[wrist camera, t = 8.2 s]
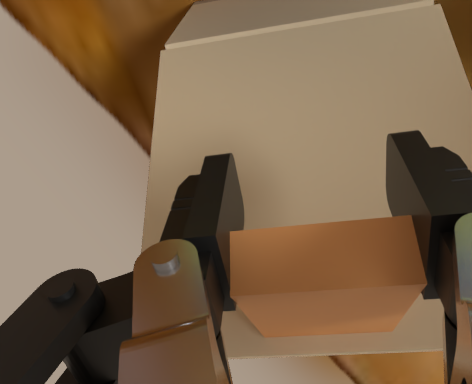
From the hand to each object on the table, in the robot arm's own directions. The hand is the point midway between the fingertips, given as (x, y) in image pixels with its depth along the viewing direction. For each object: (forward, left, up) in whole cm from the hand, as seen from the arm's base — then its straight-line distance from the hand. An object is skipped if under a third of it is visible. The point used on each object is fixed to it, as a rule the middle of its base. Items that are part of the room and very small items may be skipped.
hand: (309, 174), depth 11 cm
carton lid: (0, +3, -5) cm, 6 cm away
